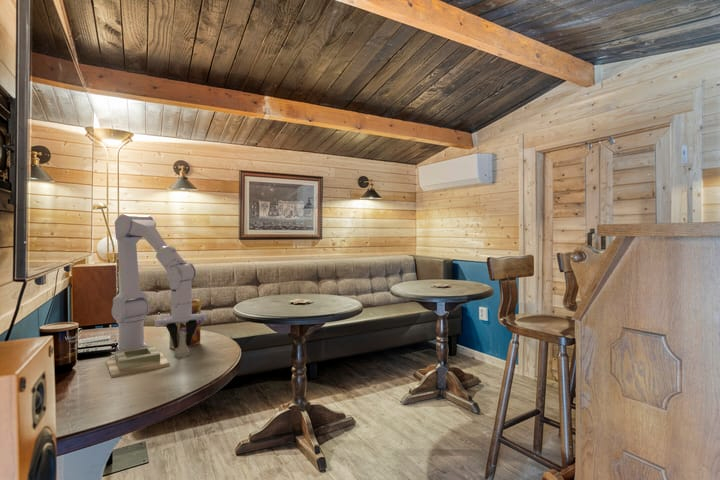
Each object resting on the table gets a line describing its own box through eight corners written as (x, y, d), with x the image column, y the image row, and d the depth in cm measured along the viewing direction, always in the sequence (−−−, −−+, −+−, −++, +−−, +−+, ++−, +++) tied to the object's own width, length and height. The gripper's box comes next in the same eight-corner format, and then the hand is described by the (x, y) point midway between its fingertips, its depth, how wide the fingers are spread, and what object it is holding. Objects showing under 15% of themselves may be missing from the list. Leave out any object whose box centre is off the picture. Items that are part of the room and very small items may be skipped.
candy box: (175, 350, 122) (175, 303, 121) (169, 347, 124) (168, 302, 124) (201, 343, 129) (201, 299, 128) (194, 341, 131) (194, 298, 131)
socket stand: (106, 362, 110) (106, 351, 110) (159, 352, 119) (159, 342, 119) (111, 377, 99) (111, 365, 99) (169, 365, 108) (169, 354, 108)
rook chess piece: (183, 358, 114) (183, 332, 114) (170, 357, 115) (170, 331, 115) (192, 353, 118) (192, 328, 118) (180, 352, 119) (180, 327, 119)
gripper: (158, 307, 108) (158, 354, 109) (209, 301, 118) (209, 344, 118) (153, 303, 114) (153, 348, 114) (203, 298, 123) (203, 339, 123)
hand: (181, 346), depth 117 cm, fingers closed on rook chess piece, 3 cm apart
